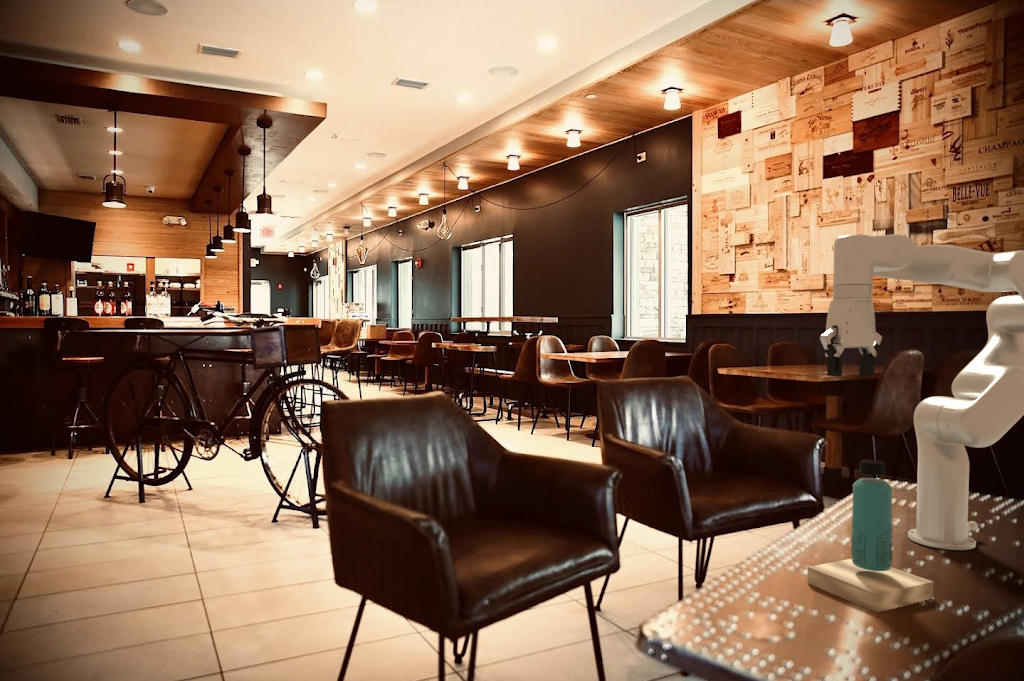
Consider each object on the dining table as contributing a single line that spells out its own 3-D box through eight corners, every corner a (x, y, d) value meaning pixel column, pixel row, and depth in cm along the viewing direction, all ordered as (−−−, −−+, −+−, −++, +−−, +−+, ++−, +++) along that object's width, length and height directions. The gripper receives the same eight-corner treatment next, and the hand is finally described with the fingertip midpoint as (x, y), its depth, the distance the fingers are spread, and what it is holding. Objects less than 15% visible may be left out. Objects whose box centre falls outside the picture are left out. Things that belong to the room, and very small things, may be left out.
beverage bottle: (897, 581, 119) (899, 465, 119) (855, 578, 121) (857, 463, 120) (885, 568, 126) (887, 458, 125) (845, 565, 127) (847, 456, 126)
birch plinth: (860, 572, 132) (861, 556, 132) (932, 599, 119) (933, 581, 119) (807, 583, 126) (808, 566, 126) (877, 612, 113) (877, 594, 113)
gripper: (865, 296, 154) (863, 373, 154) (808, 293, 146) (806, 375, 147) (896, 294, 147) (894, 376, 147) (838, 292, 139) (837, 377, 140)
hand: (850, 375), depth 147 cm, fingers open, 9 cm apart
